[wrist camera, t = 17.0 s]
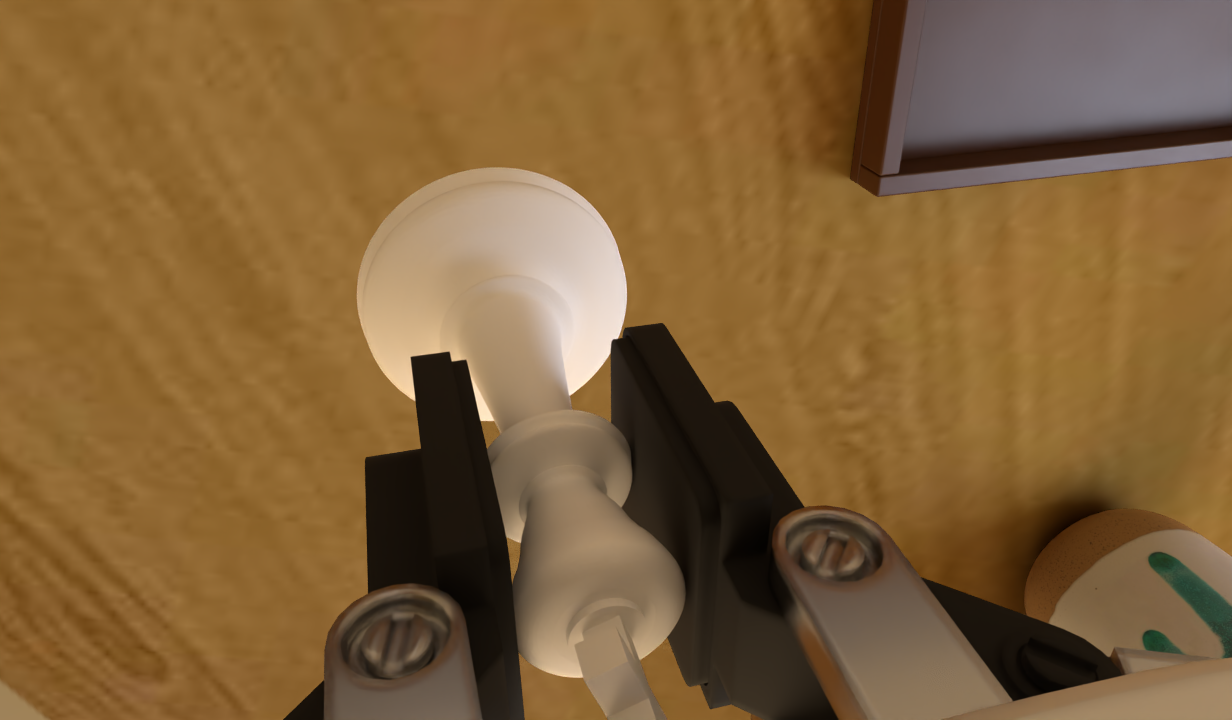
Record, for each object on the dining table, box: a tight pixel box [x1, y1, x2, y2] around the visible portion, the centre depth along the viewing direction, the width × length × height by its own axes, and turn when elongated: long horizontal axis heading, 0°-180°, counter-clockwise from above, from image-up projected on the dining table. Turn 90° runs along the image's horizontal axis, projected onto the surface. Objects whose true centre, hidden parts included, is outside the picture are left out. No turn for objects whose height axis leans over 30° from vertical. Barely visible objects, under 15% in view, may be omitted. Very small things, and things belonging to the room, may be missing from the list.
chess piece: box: [357, 168, 686, 720], centre depth 12 cm, size 5×5×10 cm
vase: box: [1024, 509, 1232, 659], centre depth 41 cm, size 11×11×19 cm
